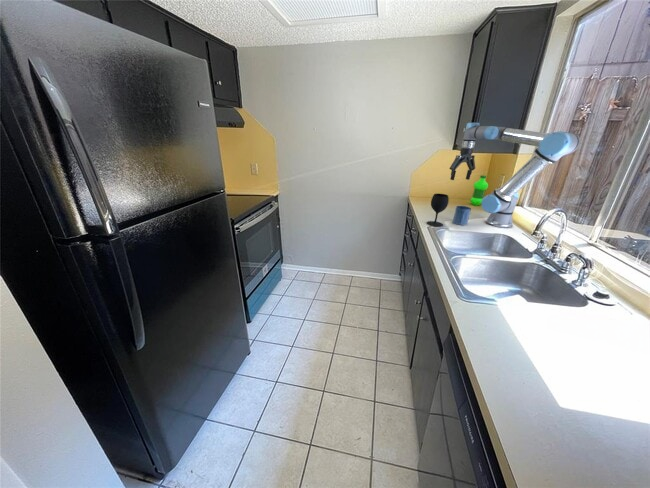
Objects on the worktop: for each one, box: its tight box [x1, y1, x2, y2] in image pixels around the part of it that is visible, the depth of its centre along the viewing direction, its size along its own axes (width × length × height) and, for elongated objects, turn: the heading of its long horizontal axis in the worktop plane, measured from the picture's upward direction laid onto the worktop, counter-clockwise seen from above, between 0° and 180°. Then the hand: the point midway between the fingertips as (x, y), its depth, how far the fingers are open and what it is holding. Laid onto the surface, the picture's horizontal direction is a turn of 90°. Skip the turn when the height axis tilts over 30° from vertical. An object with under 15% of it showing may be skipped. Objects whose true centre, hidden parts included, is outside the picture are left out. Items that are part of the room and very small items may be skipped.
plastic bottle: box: [469, 174, 489, 207], centre depth 220 cm, size 10×10×25 cm
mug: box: [452, 205, 472, 226], centre depth 174 cm, size 12×9×11 cm
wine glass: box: [426, 193, 450, 228], centre depth 170 cm, size 10×10×20 cm
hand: (459, 179), depth 182 cm, fingers open, 13 cm apart
